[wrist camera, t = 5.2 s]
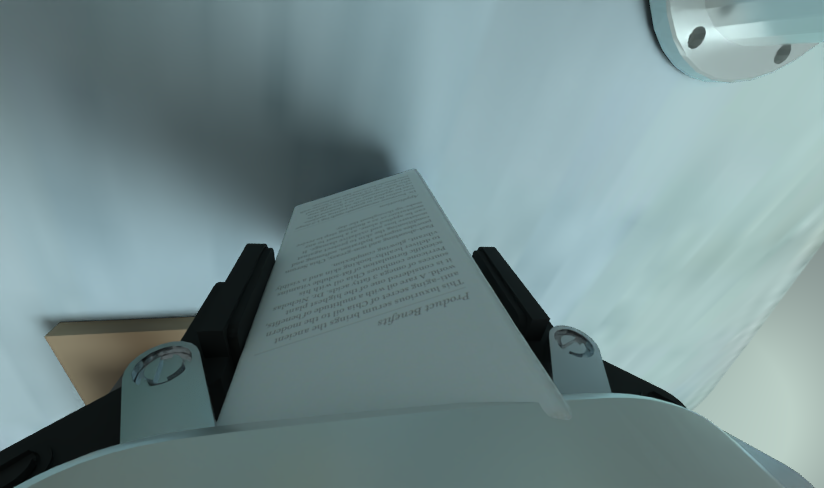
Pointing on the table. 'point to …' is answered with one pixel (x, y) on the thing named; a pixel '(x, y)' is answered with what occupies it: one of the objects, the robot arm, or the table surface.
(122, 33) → the table surface
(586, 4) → the table surface
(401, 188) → the skincare box
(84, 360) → the wooden framed tray
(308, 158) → the table surface
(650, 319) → the table surface
